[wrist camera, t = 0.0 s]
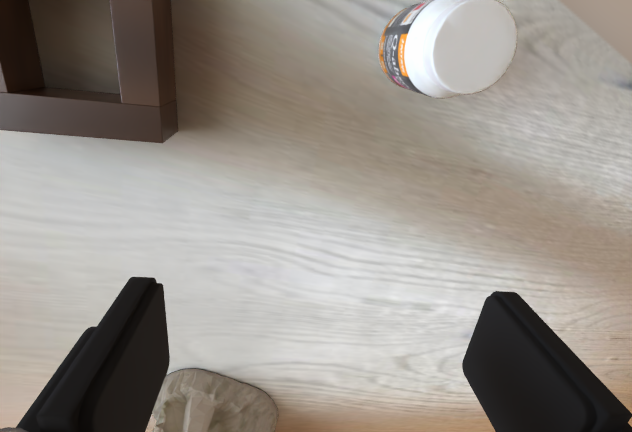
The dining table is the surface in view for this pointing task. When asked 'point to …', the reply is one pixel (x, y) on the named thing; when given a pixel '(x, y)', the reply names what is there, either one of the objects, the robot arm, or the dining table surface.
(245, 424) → the ceramic cottage
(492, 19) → the pill bottle
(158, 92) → the holder
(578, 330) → the dining table surface
